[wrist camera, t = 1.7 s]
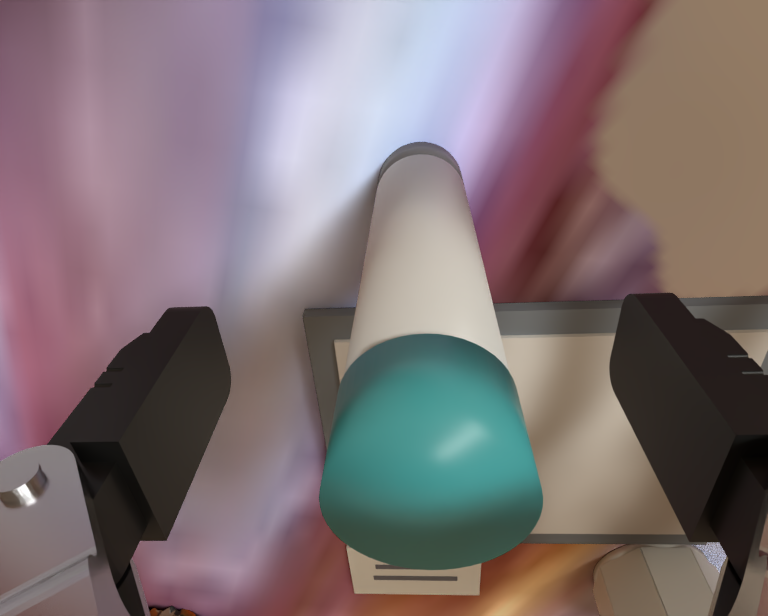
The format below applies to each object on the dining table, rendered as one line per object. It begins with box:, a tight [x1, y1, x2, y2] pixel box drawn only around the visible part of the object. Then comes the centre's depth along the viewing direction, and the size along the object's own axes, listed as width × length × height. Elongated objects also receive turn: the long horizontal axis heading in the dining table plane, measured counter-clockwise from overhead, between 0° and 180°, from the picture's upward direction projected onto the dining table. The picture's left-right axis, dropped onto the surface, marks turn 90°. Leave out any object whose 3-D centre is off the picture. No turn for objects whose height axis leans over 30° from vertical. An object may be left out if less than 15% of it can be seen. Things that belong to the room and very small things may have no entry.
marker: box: [319, 142, 543, 570], centre depth 13 cm, size 3×3×14 cm
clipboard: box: [303, 296, 768, 545], centre depth 25 cm, size 20×16×1 cm
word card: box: [346, 545, 481, 595], centre depth 32 cm, size 5×8×1 cm, turn 94°
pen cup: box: [593, 544, 719, 616], centre depth 29 cm, size 6×6×4 cm
